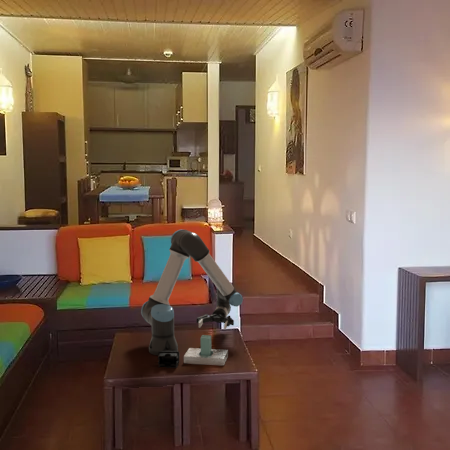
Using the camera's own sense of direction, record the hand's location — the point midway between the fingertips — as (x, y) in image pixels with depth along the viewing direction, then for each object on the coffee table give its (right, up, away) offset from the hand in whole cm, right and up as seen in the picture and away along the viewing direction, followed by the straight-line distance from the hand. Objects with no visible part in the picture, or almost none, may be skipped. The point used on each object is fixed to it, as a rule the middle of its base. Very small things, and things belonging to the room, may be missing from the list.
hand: (212, 325), depth 295 cm
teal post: (-3, -15, -11) cm, 19 cm away
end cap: (-21, -16, -17) cm, 31 cm away
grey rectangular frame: (-3, -15, -11) cm, 19 cm away
